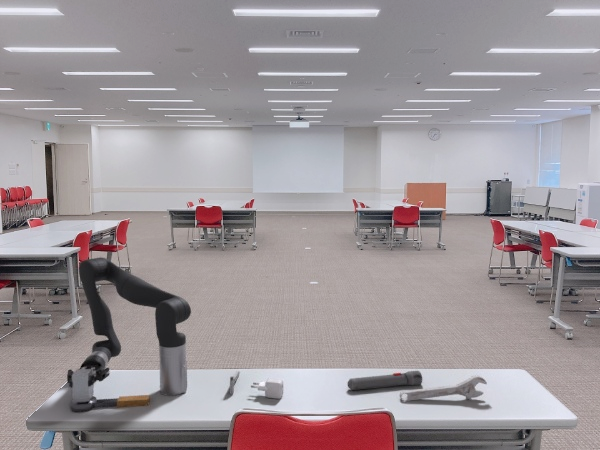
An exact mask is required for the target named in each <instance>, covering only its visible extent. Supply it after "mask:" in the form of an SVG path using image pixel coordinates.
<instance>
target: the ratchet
mask: <svg viewBox="0 0 600 450" xmlns="http://www.w3.org/2000/svg"><path fill="white" fill-rule="evenodd" d="M150 401H151V395H150V394H143V395H124V396H123V395H122V396H119V397H117V398H99V399H97V397H96V396H94V395H93V396H92V398H91V399H90V401H87V402H73V399H72V400H71V401H70V402H69V405H70V411H71V412H72V413H85V412H90V411H92V410H94V409H99V408H102V409H103V408H114V407H117V408H125V407H128V408H129V407H143V406H149V404H150Z"/></svg>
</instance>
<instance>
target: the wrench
mask: <svg viewBox="0 0 600 450" xmlns="http://www.w3.org/2000/svg"><path fill="white" fill-rule="evenodd" d="M479 383H480V384H483V385H487V381H486V380H485V379H484V377H482V376H480V375H472V376H471V377H469V378H467V379H465V380H463V381H462V382H459V383H456V384H454V385H453V384H452V385H446V386H445V385H444V386H436V387H427V388H419V389H410V390H403V391H401V392H400V393H399V399H401V401H402V402H409V401H416V400H423V399H424V400H425V399H431V398H432V399H433V398H439V397H446V396H455V395H456V396H457V395H459V396H463V397H465V400H469V401H472V399H473V398H478V397H480V396H483V395H484V391H483V390H481V389H476V386H477V385H478V384H479ZM403 395H406V397H404V398H403V397H402V396H403Z"/></svg>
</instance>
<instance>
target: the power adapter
mask: <svg viewBox="0 0 600 450" xmlns="http://www.w3.org/2000/svg"><path fill="white" fill-rule="evenodd" d="M252 384H253V385H250V388H252V389H254V388H255V389H257V390H258V391H262V392H264V396H265V398H268V399H275V400H278V399H279V400H280V399H281V398H283V395H284V380H283V379H281V378H280V379H279V378H270V377H269V378H267V379H266V380H265V381H260V382H253V383H252Z"/></svg>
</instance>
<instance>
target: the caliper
mask: <svg viewBox="0 0 600 450" xmlns="http://www.w3.org/2000/svg"><path fill="white" fill-rule="evenodd" d="M240 373H241V372H240V370H236V372H235V373H234V375H233V376H230V377H229V380H230V381H229V395H230V396H232V395H234V391H235V385H236V381H237V379H238V378H239V376H240Z"/></svg>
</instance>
